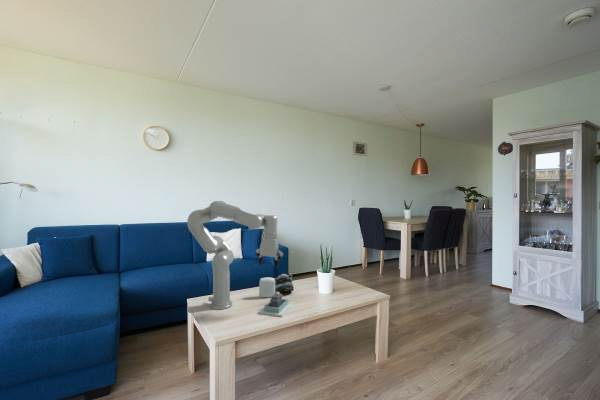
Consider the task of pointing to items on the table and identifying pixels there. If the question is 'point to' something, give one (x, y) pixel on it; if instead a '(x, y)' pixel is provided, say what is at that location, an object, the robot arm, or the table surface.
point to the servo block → (276, 300)
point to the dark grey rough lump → (283, 283)
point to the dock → (276, 311)
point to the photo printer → (266, 287)
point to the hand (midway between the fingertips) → (268, 265)
